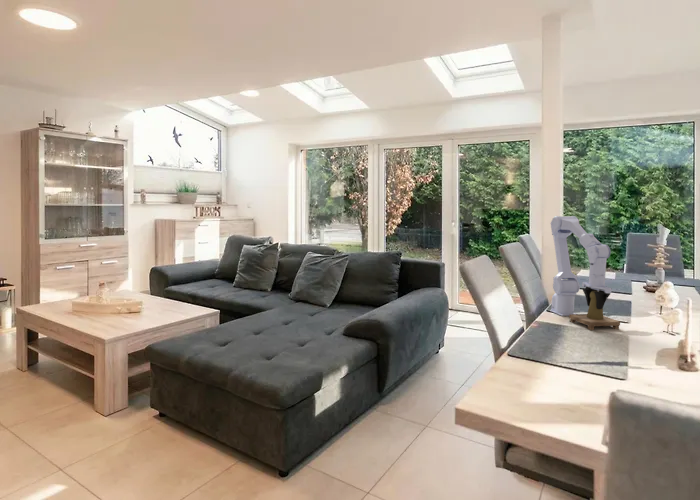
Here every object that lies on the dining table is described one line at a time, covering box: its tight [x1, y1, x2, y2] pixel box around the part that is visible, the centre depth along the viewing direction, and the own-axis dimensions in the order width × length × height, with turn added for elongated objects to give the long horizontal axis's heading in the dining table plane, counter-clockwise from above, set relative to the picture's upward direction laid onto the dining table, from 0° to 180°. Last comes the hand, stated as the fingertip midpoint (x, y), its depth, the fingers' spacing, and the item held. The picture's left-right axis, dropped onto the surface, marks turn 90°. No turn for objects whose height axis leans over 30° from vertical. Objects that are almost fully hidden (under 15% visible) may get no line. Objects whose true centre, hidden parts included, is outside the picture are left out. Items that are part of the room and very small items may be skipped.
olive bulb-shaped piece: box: [586, 290, 604, 320], centre depth 182 cm, size 6×6×11 cm
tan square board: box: [569, 313, 621, 331], centre depth 183 cm, size 13×13×3 cm
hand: (594, 307), depth 182 cm, fingers closed on olive bulb-shaped piece, 5 cm apart
